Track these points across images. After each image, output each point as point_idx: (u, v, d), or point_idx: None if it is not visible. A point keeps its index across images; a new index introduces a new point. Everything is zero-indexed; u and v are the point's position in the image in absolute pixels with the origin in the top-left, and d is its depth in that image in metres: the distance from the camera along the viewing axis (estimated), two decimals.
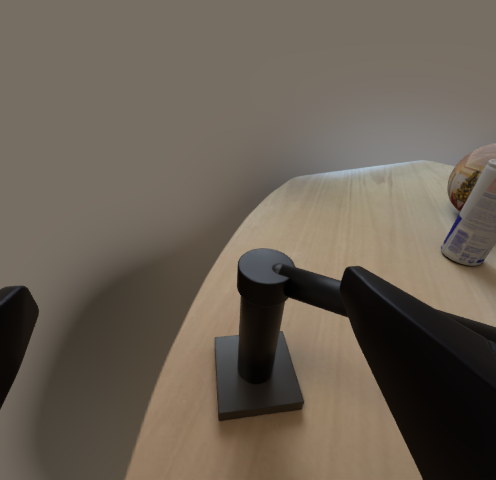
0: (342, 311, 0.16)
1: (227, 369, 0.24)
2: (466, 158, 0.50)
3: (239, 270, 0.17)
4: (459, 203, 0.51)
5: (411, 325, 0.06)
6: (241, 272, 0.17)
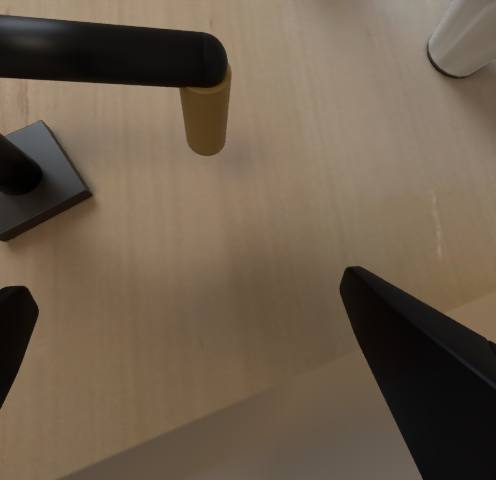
0: None
1: None
2: None
3: None
4: None
5: (411, 325, 0.06)
6: None
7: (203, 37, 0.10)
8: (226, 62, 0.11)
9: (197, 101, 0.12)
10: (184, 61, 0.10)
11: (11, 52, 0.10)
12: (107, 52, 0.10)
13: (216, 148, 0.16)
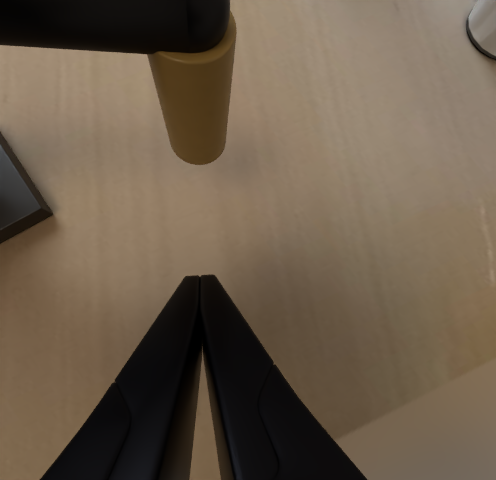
0: None
1: None
2: None
3: None
4: None
5: (208, 345, 0.05)
6: None
7: None
8: (228, 4, 0.06)
9: (178, 78, 0.07)
10: None
11: None
12: None
13: (213, 153, 0.11)
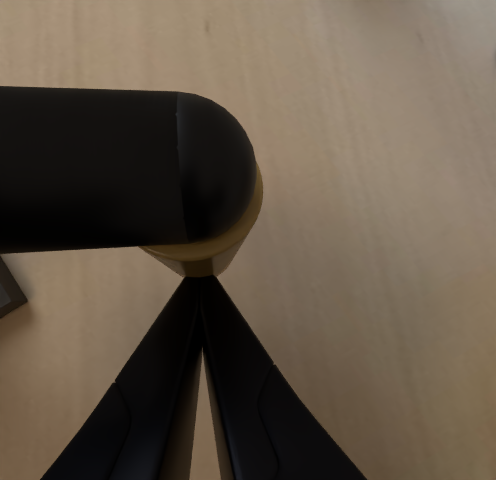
0: None
1: None
2: None
3: None
4: None
5: (208, 345, 0.05)
6: None
7: (176, 118, 0.03)
8: (254, 178, 0.04)
9: (172, 263, 0.04)
10: (109, 208, 0.03)
11: None
12: None
13: (220, 272, 0.08)
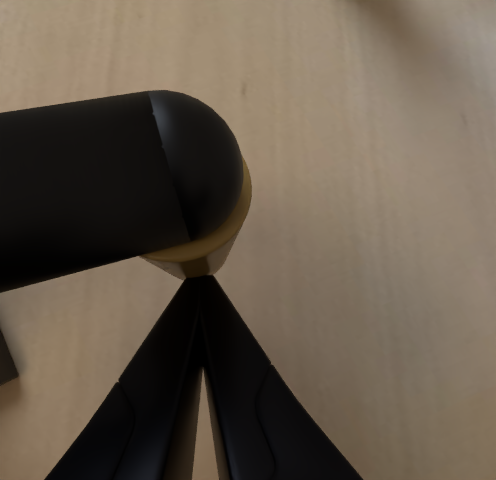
0: None
1: None
2: None
3: None
4: None
5: (205, 345, 0.05)
6: None
7: (155, 117, 0.03)
8: (241, 163, 0.04)
9: (175, 266, 0.04)
10: (107, 221, 0.03)
11: None
12: None
13: (220, 267, 0.08)
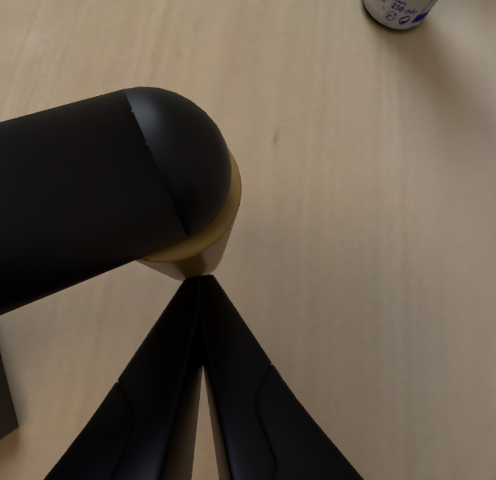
0: None
1: None
2: None
3: None
4: None
5: (206, 345, 0.05)
6: None
7: (134, 115, 0.03)
8: (227, 153, 0.04)
9: (175, 265, 0.04)
10: (100, 227, 0.03)
11: None
12: None
13: (218, 263, 0.08)
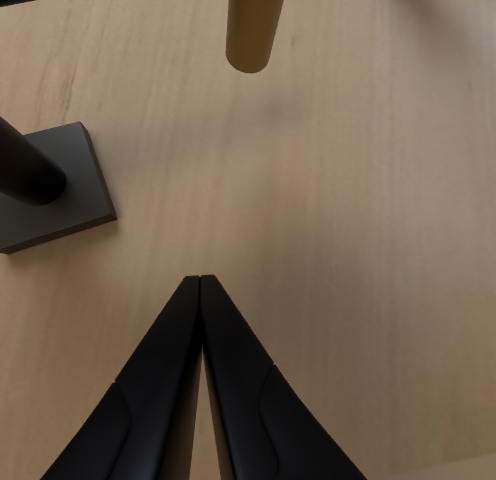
0: None
1: None
2: None
3: None
4: None
5: (208, 345, 0.05)
6: None
7: None
8: None
9: None
10: None
11: None
12: None
13: (267, 56, 0.14)
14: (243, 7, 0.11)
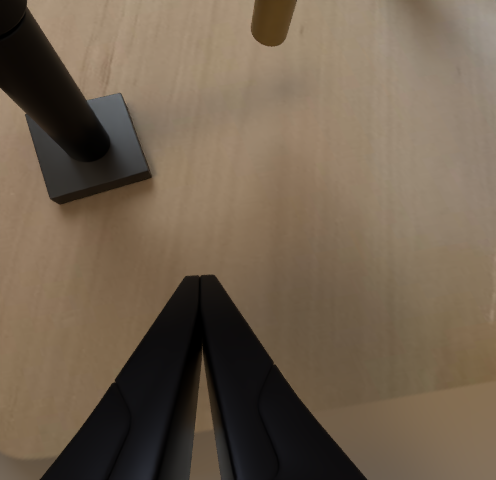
0: None
1: (51, 151, 0.19)
2: None
3: None
4: None
5: (208, 345, 0.05)
6: None
7: None
8: None
9: None
10: None
11: None
12: None
13: (286, 32, 0.17)
14: None
